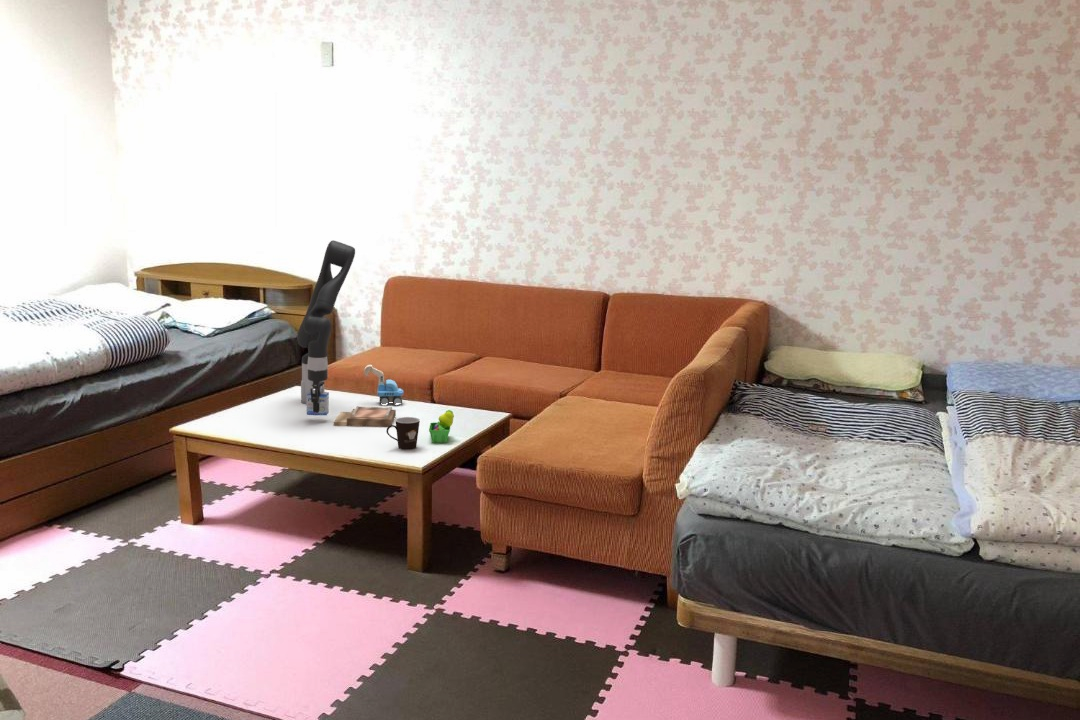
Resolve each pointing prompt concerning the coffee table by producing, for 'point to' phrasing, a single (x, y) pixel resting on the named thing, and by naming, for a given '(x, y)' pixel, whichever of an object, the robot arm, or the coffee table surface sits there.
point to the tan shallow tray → (367, 417)
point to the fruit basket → (441, 427)
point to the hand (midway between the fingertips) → (317, 410)
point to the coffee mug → (406, 432)
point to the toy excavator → (385, 387)
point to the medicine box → (322, 404)
